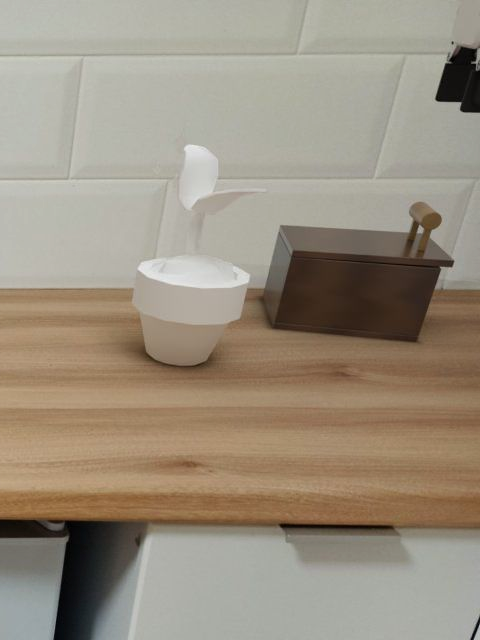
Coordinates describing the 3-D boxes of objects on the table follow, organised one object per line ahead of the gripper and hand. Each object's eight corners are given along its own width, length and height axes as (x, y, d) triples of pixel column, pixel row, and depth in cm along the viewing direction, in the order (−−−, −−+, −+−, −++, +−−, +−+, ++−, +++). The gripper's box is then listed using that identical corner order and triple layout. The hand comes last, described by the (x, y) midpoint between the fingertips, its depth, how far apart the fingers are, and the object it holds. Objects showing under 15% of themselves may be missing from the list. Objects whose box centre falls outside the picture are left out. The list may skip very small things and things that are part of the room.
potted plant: (101, 345, 103) (137, 114, 90) (184, 334, 106) (230, 109, 94) (172, 387, 93) (224, 132, 80) (261, 372, 96) (324, 126, 84)
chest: (392, 309, 114) (414, 241, 110) (416, 342, 104) (441, 268, 100) (262, 297, 118) (278, 231, 114) (272, 329, 108) (291, 257, 104)
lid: (423, 240, 110) (437, 196, 107) (452, 267, 99) (468, 220, 97) (278, 231, 114) (288, 189, 112) (291, 256, 104) (302, 211, 101)
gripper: (600, -84, 81) (530, 118, 89) (532, -74, 95) (478, 99, 103) (505, -81, 83) (445, 116, 91) (452, -72, 97) (405, 97, 105)
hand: (463, 106), depth 97 cm, fingers open, 9 cm apart
